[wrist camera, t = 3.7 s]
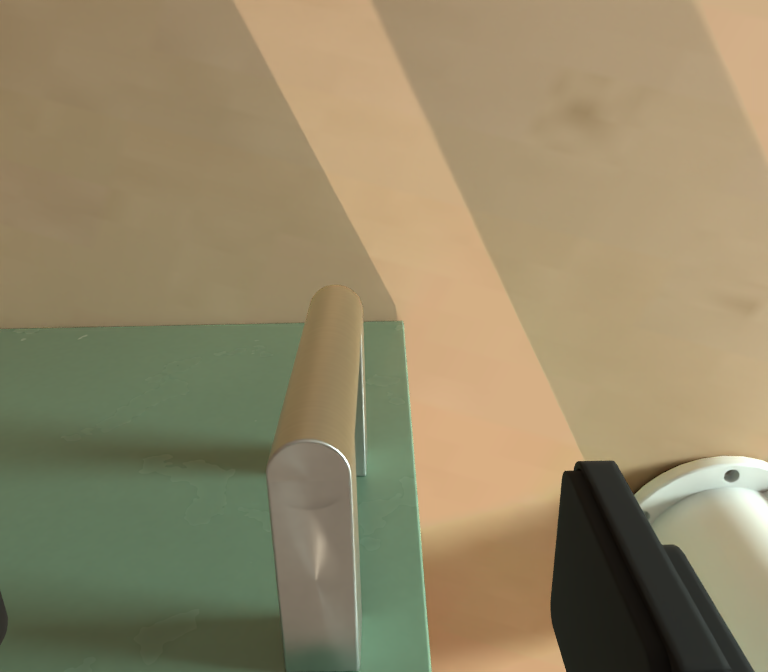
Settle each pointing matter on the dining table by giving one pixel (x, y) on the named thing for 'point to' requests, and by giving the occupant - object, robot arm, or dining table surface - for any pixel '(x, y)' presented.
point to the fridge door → (211, 497)
